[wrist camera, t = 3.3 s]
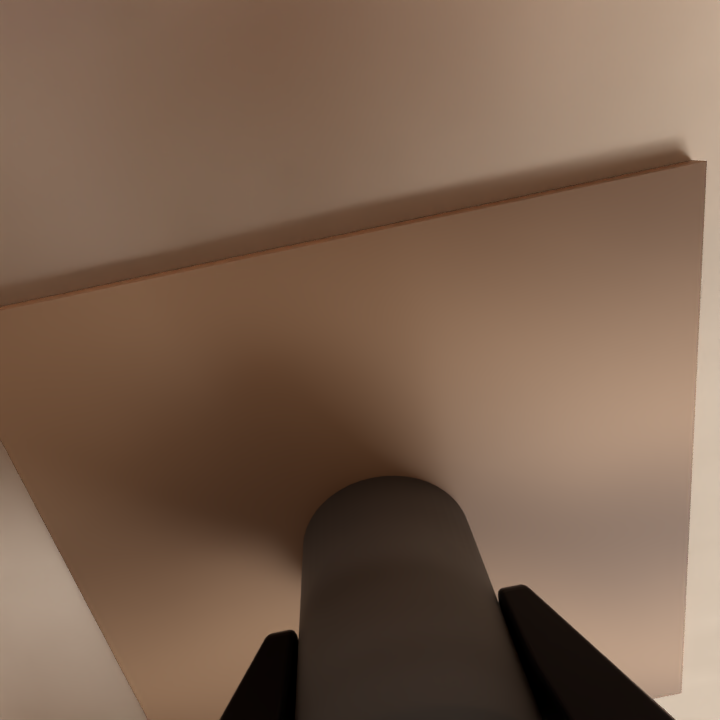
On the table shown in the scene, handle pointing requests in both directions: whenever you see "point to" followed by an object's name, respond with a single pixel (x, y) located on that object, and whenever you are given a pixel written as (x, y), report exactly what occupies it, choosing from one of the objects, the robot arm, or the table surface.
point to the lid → (379, 451)
